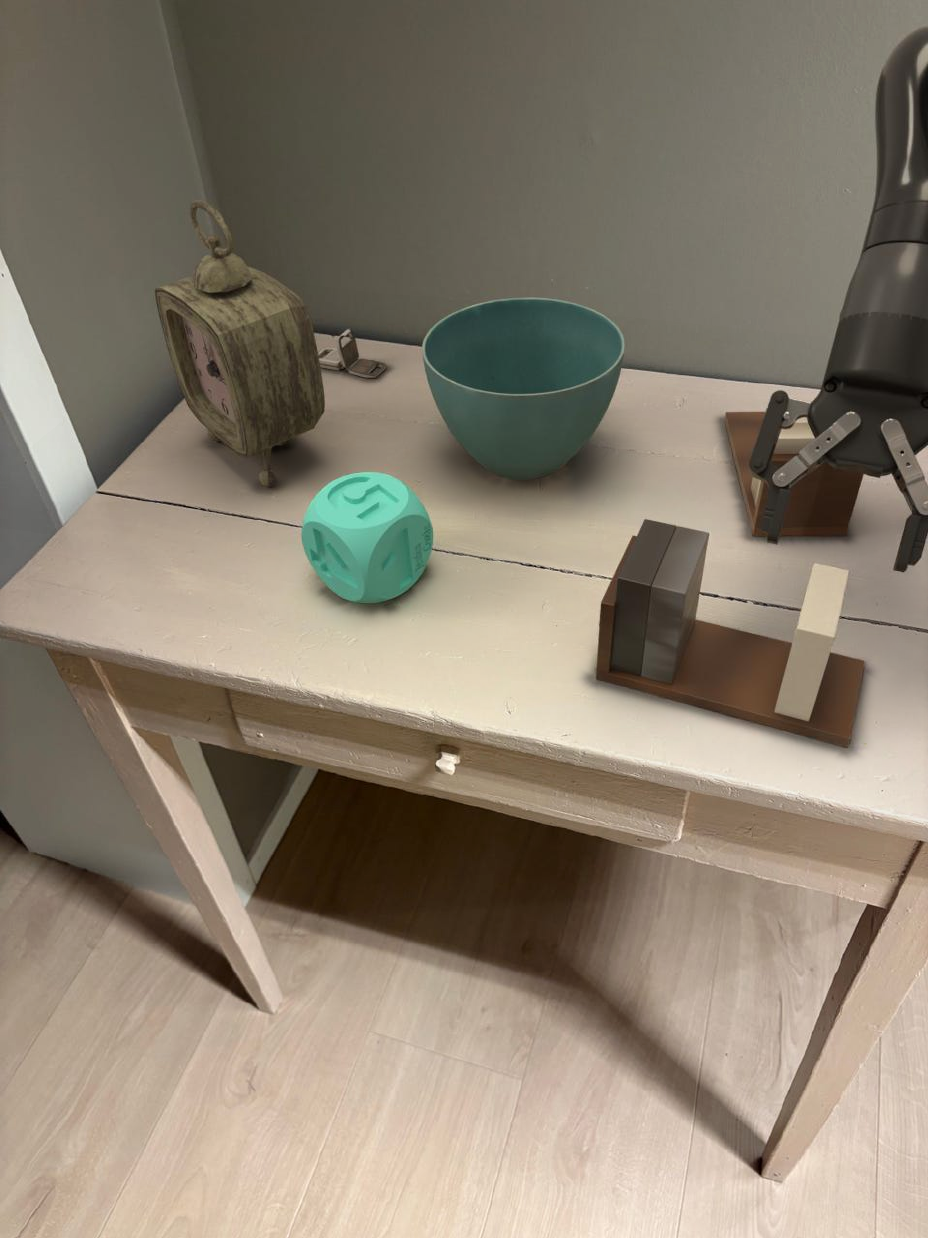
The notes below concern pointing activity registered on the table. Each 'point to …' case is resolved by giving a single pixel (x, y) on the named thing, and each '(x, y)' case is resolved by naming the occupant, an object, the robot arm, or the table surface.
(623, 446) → the table surface
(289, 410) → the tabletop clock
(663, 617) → the brown wooden bookend
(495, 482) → the table surface
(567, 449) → the teal bowl
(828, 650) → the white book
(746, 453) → the brown wooden book rack
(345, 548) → the decorative dice
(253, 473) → the table surface
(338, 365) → the strap clip
